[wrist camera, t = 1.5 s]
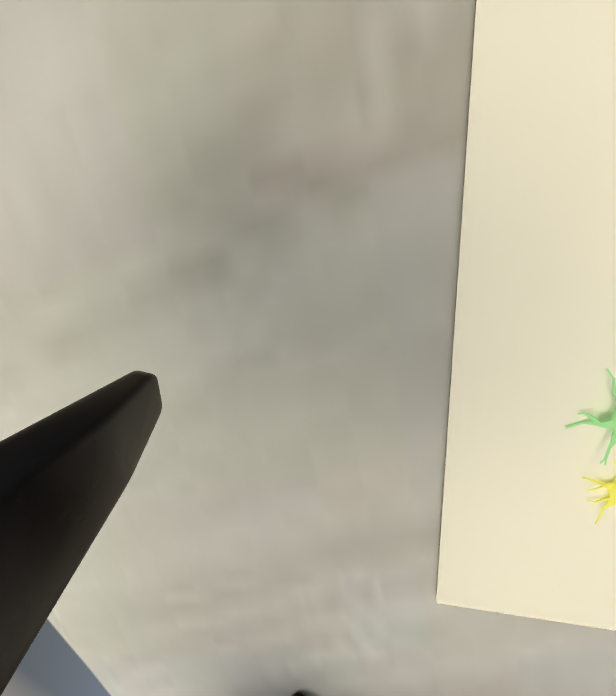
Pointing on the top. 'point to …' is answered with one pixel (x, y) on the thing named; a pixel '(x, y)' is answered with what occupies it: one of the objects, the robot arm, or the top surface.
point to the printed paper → (536, 321)
